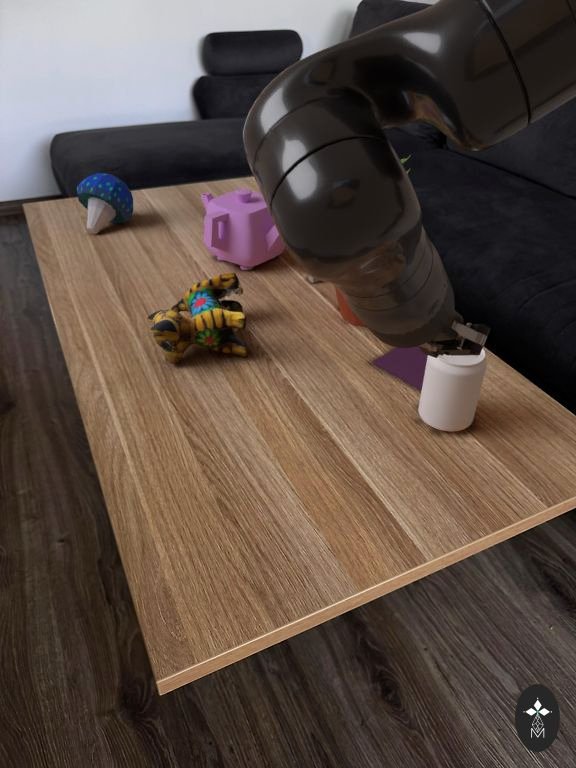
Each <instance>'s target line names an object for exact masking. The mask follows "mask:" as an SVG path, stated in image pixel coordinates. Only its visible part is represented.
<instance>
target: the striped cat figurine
mask: <svg viewBox="0 0 576 768" xmlns="http://www.w3.org/2000/svg"><path fill="white" fill-rule="evenodd" d="M232 294H235V295H236V296H237V295H238V297H240V296H241V295H242V294H244V288H243V286H242V283H241V281H240V279H239V277H238V276H237V274H236V272H233V271H230V272H227V273H223V274H219V275H216V276H214V277H212V278H210V279H209V278H208V279H205V280H202V281H199V282H197V283H195V284H193V285H192V286H191V287H190V288H189V289H188V291H187V292H186V294H185V295H184V296H183V297H182V298H181V299H180V300H178V302H176V303H175V304H173V305H172V306H171V307H170V309H165V310H164V309H160V310H157V311H155V312H153V313H151V314H150V315H149V316H147V318H146V319H147V321H149V322H151V323H153V325H152V327H151V328H150V330H149V333H150V334H152V335H153V340H154V341H155V343H156V344H157V345H158V346H159V347H160V348H162V350H163V352H164V359H165V360H166V361H167V362H168V363H169V364H171V365H176V364H178V363H179V362H180V360H181V359H182V358H183V356H184V354H185V353H186V351H187V350H188V349H189V348H190V346H192V345H197V346H201V347H204V348H206V349H210V350H212V351H215V352H221V353H224V354H231V355H237V356H240V357H243V358H246V357H247V356H248V348H247V344H246V343H245V342H244V341H243V340H242V339H240V338H239V337H238V336H236V334H235V333H234V332H237V331H238V330H240V331H241V330H244V329H245V328H246V326H247V316H246V314H245V313H244V308H243V306H242V304H241V302H239V301H237V300H234V299H233V300H232V299H223V298H226V297H228V298H230V297H231V296H232ZM221 299H222V300H221ZM181 312H187V313H189V314H190V316H191V317H187V316H185V315H184V314H182V313H181Z"/></svg>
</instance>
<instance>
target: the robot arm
mask: <svg viewBox="0 0 576 768" xmlns="http://www.w3.org/2000/svg"><path fill="white" fill-rule="evenodd" d="M575 97H576V0H438V1H437V2H435V3H434V4H431V5H430V6H428V7H426V8H424V9H421V10H419V11H416V12H414V13H411V14H409V15H405V16H402V17H400V18H397V19H394V20H391V21H388V22H386V23H383V24H381V25H379V26H376V27H374V28H371V29H370V30H368V31H365V32H363V33H361V34H357V35H354V36H353V37H351V38H348V39H346V40H343V41H340V42H339V43H336V44H333V45H331V46H328V47H326V48H323V49H321V50H318V51H317V52H314V53H312V54H309V55H307V56H305V57H304V58H302V59H299V60H298V61H296V62H295V63H293V64H292V65H290V66H288V67H287V68H285V69H284V70H283V71H281V72H280V73H279V74H278V75H277V76H275V77H274V78H273V79H272V80H271V81H270V82H269V83H268V84H267V85H266V86H265V87H264V88H263V90H262V91H261V93H260V94H259V95H258V96H257V98H256V100H255V101H254V102H253V104H252V106H251V108H250V110H249V112H248V114H247V116H246V119H245V122H244V126H243V129H242V146H243V151H244V156H245V159H246V162H247V164H248V165H249V168H250V171H251V173H252V175H253V177H254V180H255V182H256V185H257V186H258V189H259V191H260V194H262V196H263V198H264V201H265V203H266V205H267V208H268V210H269V212H270V215H271V217H272V219H273V222H274V224H275V227H276V229H277V231H278V233H279V236H280V238H281V240H282V241H283V243H284V245H285V249H286V250H287V251H288V253H289V254H290V256H291V258H292V259H293V260H294V261H295V263H296V264H297V265H298V266H299V267H300V269H302V271H303V272H304V273H306V274H307V275H308V277H309V276H311V277H313V278H316V279H319V280H321V281H320V282H324V283H327V284H330V285H332V286H333V285H334V286H335V287H336V288H337V289H338V290H339V291H340V292H341V294H342V295H343V297H344V299H345V301H346V303H347V304H348V306H349V307H350V309H351V310H352V311H353V314H354V315H356V317H358V318H359V319H360V320H361V321H362V322H363V323H364V324H365V326H366V327H365V328H367V329H368V331H370V333H372V335H373V336H374V337H375V338H377V340H379V341H380V342H382V343H384V345H388V346H390V347H394V348H397V347H398V348H413V347H417V346H418V347H419V348H420V350H421V351H422V352H423V354H426V355H429V356H432V357H435V358H437V357H438V356H439V355H442V356H443V355H444V354H445V355H448V356H449V355H451V356H463V355H480V353H481V351H482V348H483V349H484V346H485V343H486V342H487V338H488V336H489V334H490V331H491V327H489V326H488V325H486V324H484V323H475V324H474V323H473V324H472V323H471V322H467V323H466V324H464V317H463V315H461V314H460V313H459V312H458V311H456V310H455V309H456V307H455V306H456V304H455V293H454V290H453V286H452V284H451V282H450V278H449V276H448V274H447V271H446V269H445V266H444V263H443V261H442V259H441V256H440V254H439V251H438V250H437V248H436V247H435V245H434V243H433V242H432V240H431V239H429V236H428V234H427V232H426V229H425V226H424V224H423V213H422V212H423V211H422V208H421V204H420V201H419V198H418V195H417V192H416V191H415V187H414V186H413V184H412V181H411V179H410V177H409V173H408V174H407V170H406V168H405V166H404V164H402V163H401V161H400V160H401V159H400V157H399V156H398V154H397V152H396V150H395V148H394V147H393V145H392V143H391V140H389V139H390V138H388V136H387V134H386V132H385V131H387V130H390V129H393V128H397V127H400V126H403V125H408V124H412V123H417V122H418V123H419V122H425V123H428V124H430V125H432V126H434V127H435V128H436V129H438V130H439V131H440V132H441V133H443V135H445V136H446V137H447V138H448V139H449V140H450V141H451V142H453V143H454V144H455V145H456V146H458V147H459V148H461V149H462V150H464V151H467V152H471V153H477V152H483V151H486V150H489V149H492V148H493V147H496V146H497V145H499V144H501V143H502V142H504V141H506V140H507V139H510V138H511V137H513V136H514V135H516V134H517V133H519V132H521V131H522V130H525V128H527V126H531V125H532V124H533V123H535V122H537V121H538V120H540V119H541V118H543V117H544V116H546V115H548V114H550V113H551V112H553V111H554V110H556V109H557V108H559V107H561V106H562V105H564V104H565V103H567V102H568V101H570V100H572V99H574V98H575ZM334 286H333V287H334ZM335 287H334V288H335Z"/></svg>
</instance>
